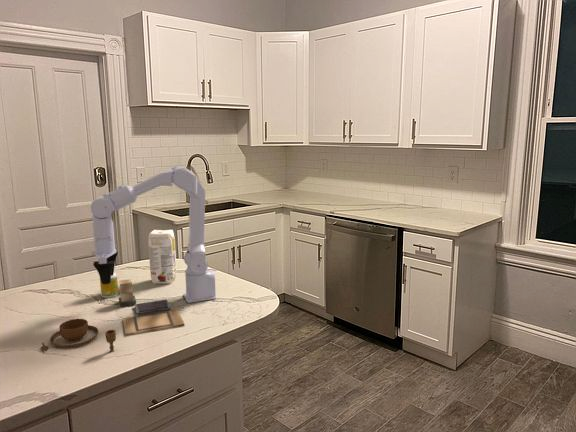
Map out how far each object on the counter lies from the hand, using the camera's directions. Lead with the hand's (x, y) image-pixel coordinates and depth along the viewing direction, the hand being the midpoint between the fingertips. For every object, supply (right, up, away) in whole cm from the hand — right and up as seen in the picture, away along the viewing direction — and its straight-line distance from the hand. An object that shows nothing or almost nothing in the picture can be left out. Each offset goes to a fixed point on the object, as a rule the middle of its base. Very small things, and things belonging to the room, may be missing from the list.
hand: (108, 279), depth 138 cm
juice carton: (+10, -5, +28) cm, 30 cm away
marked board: (+16, -12, -7) cm, 21 cm away
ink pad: (+13, -10, +3) cm, 16 cm away
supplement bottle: (-5, -8, +14) cm, 17 cm away
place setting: (0, -15, -20) cm, 25 cm away
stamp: (+3, -9, +7) cm, 12 cm away
